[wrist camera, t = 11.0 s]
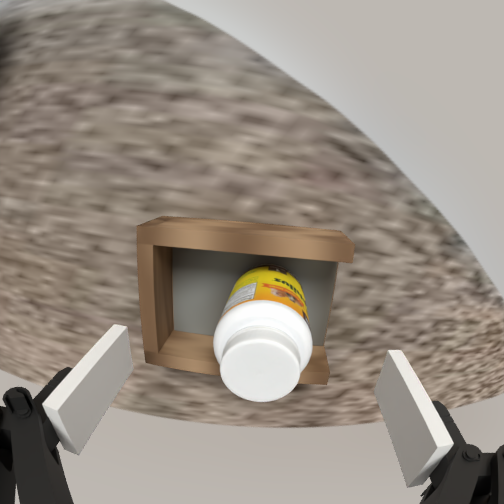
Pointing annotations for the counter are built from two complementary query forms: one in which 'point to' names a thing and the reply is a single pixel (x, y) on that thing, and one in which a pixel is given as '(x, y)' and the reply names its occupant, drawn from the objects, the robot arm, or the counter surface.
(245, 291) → the supplement bottle
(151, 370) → the counter surface
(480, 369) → the counter surface
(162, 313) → the walnut u rest
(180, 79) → the counter surface
